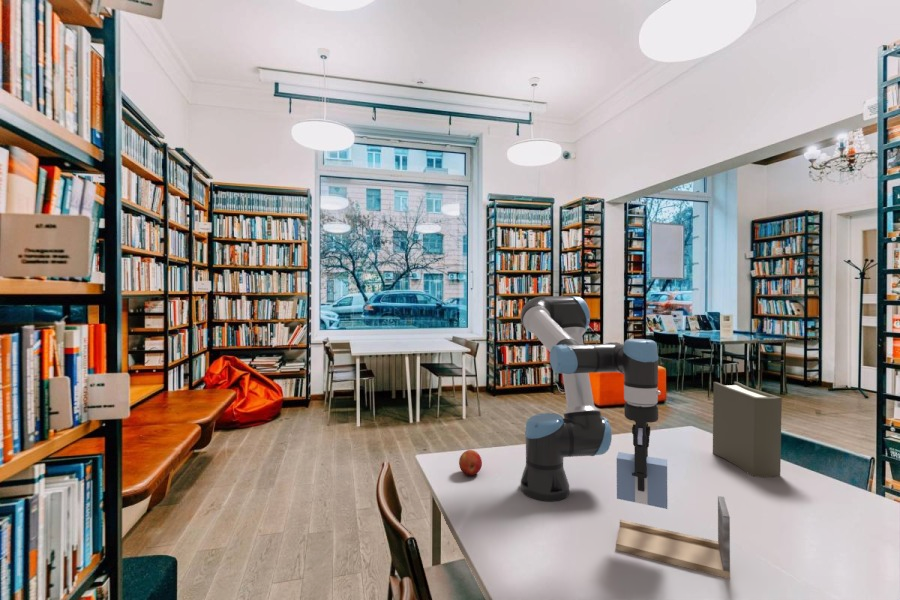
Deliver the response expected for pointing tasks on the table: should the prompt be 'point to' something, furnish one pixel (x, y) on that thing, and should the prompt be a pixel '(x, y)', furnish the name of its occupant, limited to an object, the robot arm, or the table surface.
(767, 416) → the book
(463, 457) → the apple
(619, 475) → the slim book
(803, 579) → the table surface
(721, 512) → the shelf
